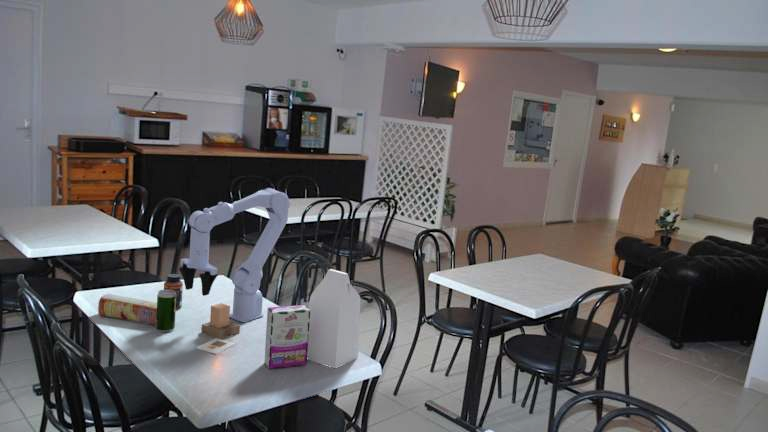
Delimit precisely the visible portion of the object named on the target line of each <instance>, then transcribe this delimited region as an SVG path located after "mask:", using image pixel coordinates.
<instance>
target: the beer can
mask: <svg viewBox="0 0 768 432" xmlns="http://www.w3.org/2000/svg"><path fill="white" fill-rule="evenodd" d="M156 297H157V298H156V303H157V316H156V326H155V328H156V330H157V332H159V333H170V332H172V331H174V329H175V326H176V293H175V291H174V290H170V289H164V288H163V289H160V290H158V292H157V296H156Z"/></svg>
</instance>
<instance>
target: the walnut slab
mask: <svg viewBox="0 0 768 432" xmlns="http://www.w3.org/2000/svg"><path fill="white" fill-rule="evenodd" d="M240 328H241V326H240V324H238V323H235V322H232V321H230V320H229V325H227V326H224V327H221V328H218V327H215V326H212V325H210V321H207V322H206V323H202V324H201V334H204V335H207V336H208V337H212V338H213V339H215V338H218V339H222V340H225V339H227V338H229V337H230V338H231V337H233V336H235V335H238V334H240V332H241V331H240Z"/></svg>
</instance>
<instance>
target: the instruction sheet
mask: <svg viewBox="0 0 768 432" xmlns="http://www.w3.org/2000/svg"><path fill="white" fill-rule="evenodd" d="M235 345H236V343H235V342H232V341H228V340H225V339H218V338H212V339H211V340H209V341H207V342H205V343H203V344H200V345H199V346H197V347H196V348H195V349H197V350H201V351H204V352H206V353H211V354H214V355H218V354H220V353H222V352H223V351H225V350H228V349H229V348H231V347H233V346H235Z"/></svg>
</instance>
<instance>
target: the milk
mask: <svg viewBox="0 0 768 432" xmlns="http://www.w3.org/2000/svg"><path fill="white" fill-rule="evenodd" d="M350 281H351V280H350V277H349V274H348V273H347V272H344V271H340V270H336V269H333V268H330V269H328V270H327V272H326V273H325V276H324V278H323V279H322V280H321V281H320V283H318V285H317V286H316V288H315V289H314V290H313V292H312V293H311V295H310V297H309V303H308V308H309V309H310V325H309V337H308V352H307V358H308V359H307V360H309V359H310V360H309V361H312V360H313V361H312V362H314V361H316V362H315V363H317V362H319V363H322V364H325V365H328V366H331V367H333V368H336V367H338V366H340V365H342V364H344V363H346V364H348V363H350V362H352V361H353V359H354V360H356V359H358V358H359V343H360V342H359V341H360V320H361V295H360V293H358V291H357V290H356V289H355V287H354V286H353V285H352V284H351V282H350ZM357 357H358V358H357ZM355 358H356V359H355ZM351 360H352V361H351ZM349 361H350V362H349ZM347 362H348V363H347ZM319 363H318V364H319ZM322 364H321V365H322ZM325 365H324V366H325ZM344 365H345V364H344ZM342 366H343V365H342ZM333 368H332V369H333Z"/></svg>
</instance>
